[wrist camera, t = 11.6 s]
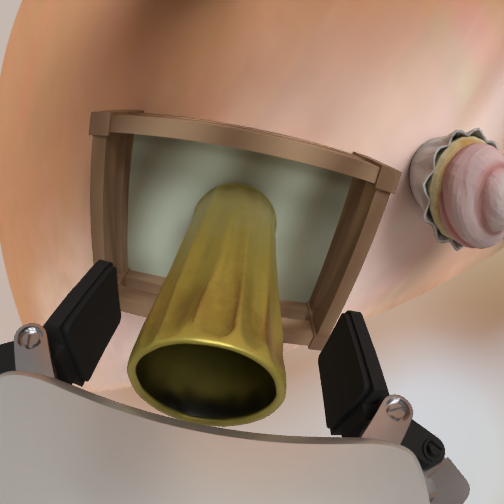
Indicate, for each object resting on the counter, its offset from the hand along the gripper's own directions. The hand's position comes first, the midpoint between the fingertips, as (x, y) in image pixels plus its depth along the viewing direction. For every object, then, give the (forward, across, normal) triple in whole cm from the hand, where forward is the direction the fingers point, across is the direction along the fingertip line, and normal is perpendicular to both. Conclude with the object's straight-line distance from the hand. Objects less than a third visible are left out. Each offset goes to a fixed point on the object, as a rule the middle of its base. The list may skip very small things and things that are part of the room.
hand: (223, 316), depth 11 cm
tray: (+12, +1, +1) cm, 12 cm away
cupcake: (+12, -15, -7) cm, 21 cm away
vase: (+11, 0, +1) cm, 11 cm away
